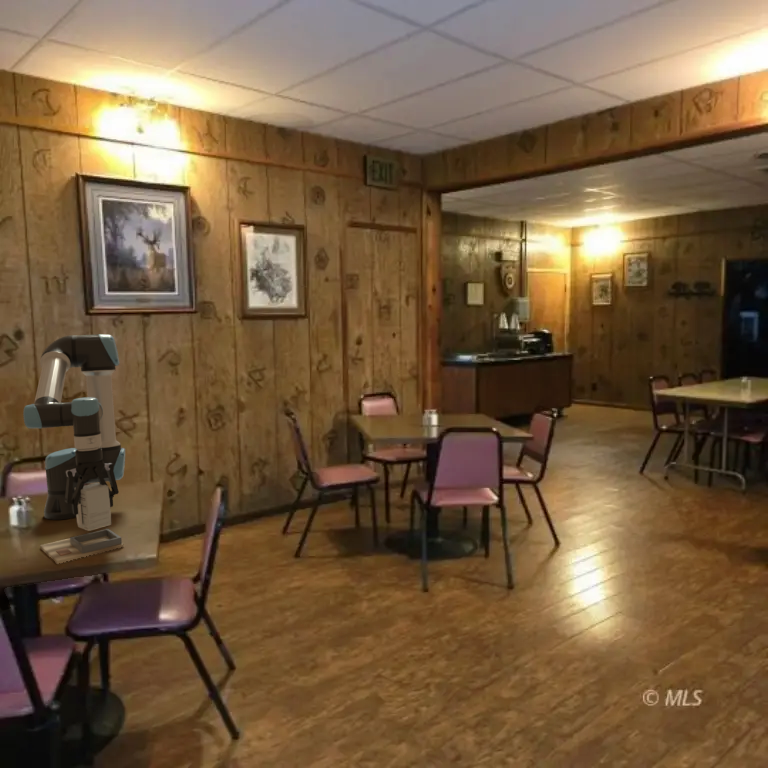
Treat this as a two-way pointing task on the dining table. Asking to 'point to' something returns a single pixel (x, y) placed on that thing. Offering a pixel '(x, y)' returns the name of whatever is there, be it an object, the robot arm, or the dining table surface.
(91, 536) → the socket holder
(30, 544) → the dining table surface
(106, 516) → the supplement box
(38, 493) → the dining table surface
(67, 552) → the board
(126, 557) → the dining table surface
